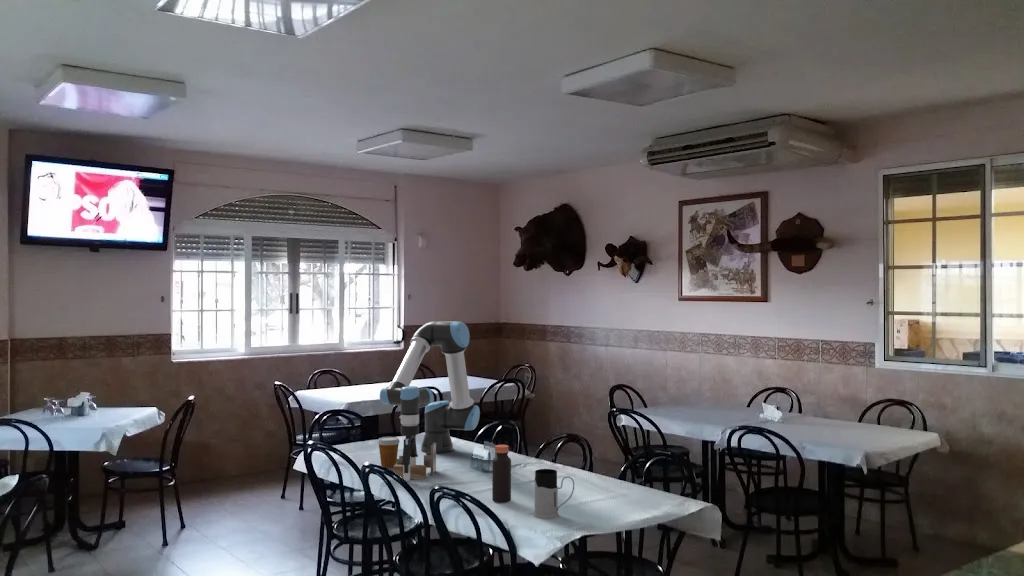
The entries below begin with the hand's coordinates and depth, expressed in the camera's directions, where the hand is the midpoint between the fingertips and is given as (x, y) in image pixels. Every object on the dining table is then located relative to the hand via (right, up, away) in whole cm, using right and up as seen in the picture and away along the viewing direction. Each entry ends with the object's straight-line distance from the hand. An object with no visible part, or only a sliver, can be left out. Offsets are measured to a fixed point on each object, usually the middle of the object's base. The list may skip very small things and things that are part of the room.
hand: (409, 476), depth 320 cm
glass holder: (+56, 0, -54) cm, 78 cm away
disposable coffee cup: (-12, 0, +21) cm, 24 cm away
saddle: (-4, 0, +8) cm, 9 cm away
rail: (0, 0, 0) cm, 0 cm away
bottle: (+38, 0, -35) cm, 52 cm away
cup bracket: (+8, 0, +8) cm, 11 cm away
